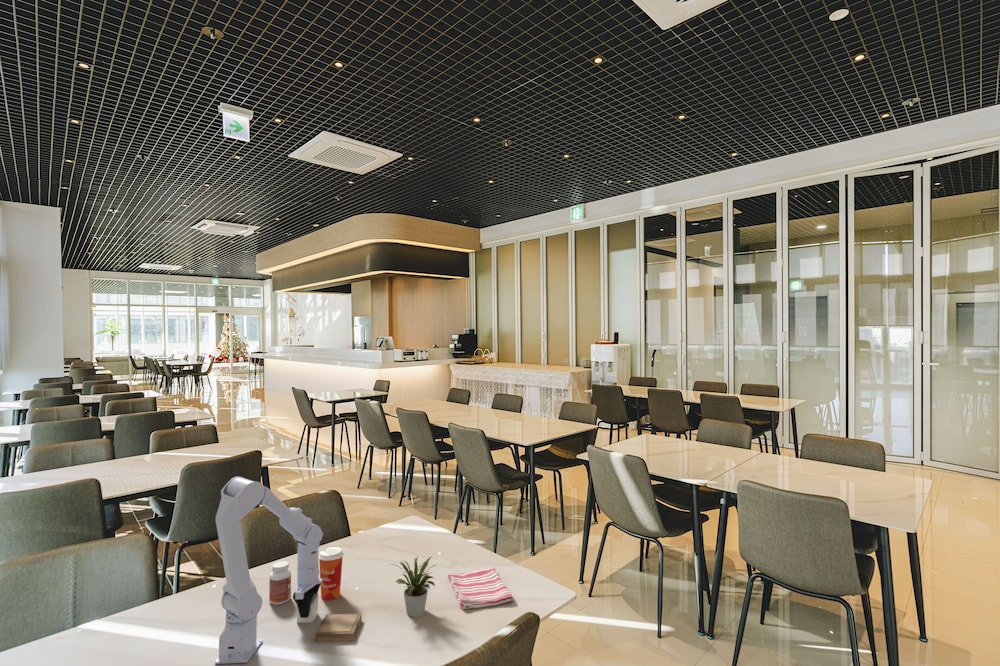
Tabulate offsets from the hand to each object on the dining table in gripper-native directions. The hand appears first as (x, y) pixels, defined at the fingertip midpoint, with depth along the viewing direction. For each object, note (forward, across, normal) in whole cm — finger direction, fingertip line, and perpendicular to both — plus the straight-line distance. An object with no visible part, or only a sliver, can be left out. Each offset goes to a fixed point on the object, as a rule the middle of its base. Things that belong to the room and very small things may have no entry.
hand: (307, 612), depth 146 cm
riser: (+2, -7, -11) cm, 13 cm away
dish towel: (+2, +15, -50) cm, 52 cm away
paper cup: (+2, +13, -3) cm, 13 cm away
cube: (+2, 0, 0) cm, 2 cm away
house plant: (+2, +1, -30) cm, 30 cm away
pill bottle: (+2, +11, +12) cm, 16 cm away
